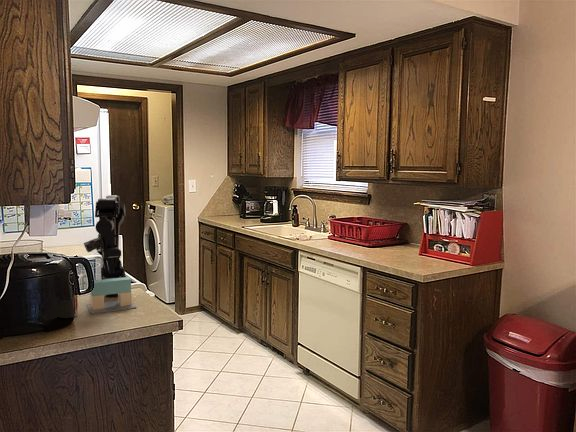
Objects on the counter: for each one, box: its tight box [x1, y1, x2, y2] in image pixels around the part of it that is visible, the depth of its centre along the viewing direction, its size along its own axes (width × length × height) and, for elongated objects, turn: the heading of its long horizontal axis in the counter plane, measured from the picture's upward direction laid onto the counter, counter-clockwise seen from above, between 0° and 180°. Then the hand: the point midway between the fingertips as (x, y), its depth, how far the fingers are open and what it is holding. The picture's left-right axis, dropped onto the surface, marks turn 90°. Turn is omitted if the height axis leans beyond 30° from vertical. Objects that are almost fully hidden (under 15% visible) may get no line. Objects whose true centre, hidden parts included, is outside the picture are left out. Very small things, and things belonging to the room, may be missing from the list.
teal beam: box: [90, 276, 132, 296], centre depth 185 cm, size 4×14×5 cm, turn 120°
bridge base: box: [86, 291, 137, 315], centre depth 185 cm, size 12×16×6 cm
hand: (108, 271), depth 188 cm, fingers open, 9 cm apart
